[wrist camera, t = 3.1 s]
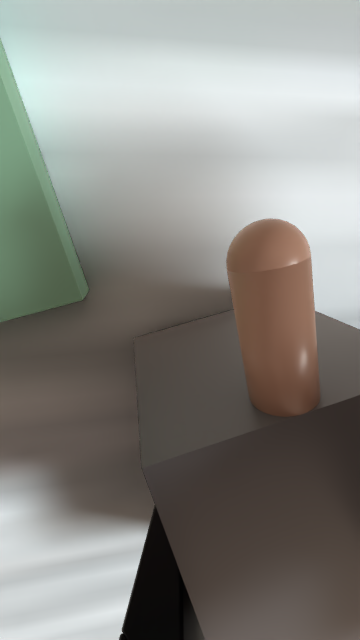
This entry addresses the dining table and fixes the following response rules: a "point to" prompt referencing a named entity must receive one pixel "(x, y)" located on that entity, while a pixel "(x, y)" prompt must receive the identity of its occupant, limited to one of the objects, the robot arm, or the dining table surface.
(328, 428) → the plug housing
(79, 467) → the dining table surface
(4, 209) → the pin board
